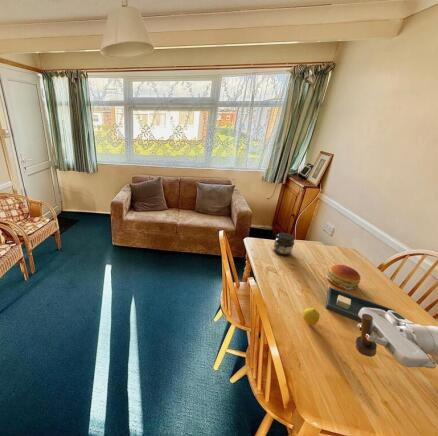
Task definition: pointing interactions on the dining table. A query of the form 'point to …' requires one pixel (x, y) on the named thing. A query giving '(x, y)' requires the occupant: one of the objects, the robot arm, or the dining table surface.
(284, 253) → the supplement container
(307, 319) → the lemon
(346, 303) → the cream block
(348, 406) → the dining table surface
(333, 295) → the tray
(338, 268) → the burger
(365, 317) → the brush
